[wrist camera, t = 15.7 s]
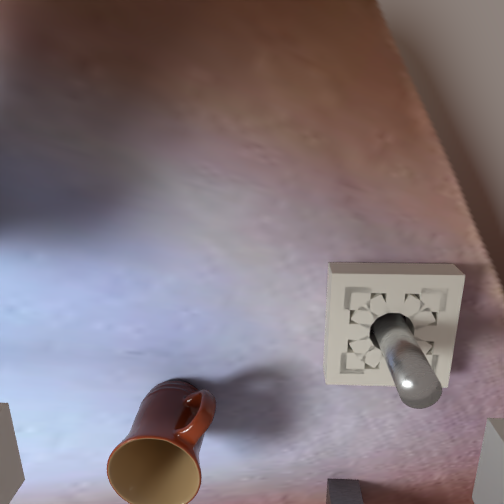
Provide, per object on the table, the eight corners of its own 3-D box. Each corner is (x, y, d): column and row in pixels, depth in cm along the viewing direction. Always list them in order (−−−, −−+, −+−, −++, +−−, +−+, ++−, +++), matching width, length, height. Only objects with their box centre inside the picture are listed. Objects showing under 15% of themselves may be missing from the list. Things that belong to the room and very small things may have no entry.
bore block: (323, 367, 48) (325, 384, 45) (328, 262, 44) (331, 273, 41) (437, 370, 47) (447, 387, 44) (453, 263, 43) (465, 275, 40)
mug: (183, 447, 52) (162, 526, 43) (124, 404, 51) (88, 475, 41) (251, 384, 49) (244, 454, 39) (189, 336, 48) (167, 397, 38)
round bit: (368, 332, 46) (397, 408, 35) (370, 304, 45) (401, 372, 34) (399, 333, 46) (439, 409, 35) (402, 304, 45) (444, 373, 34)
